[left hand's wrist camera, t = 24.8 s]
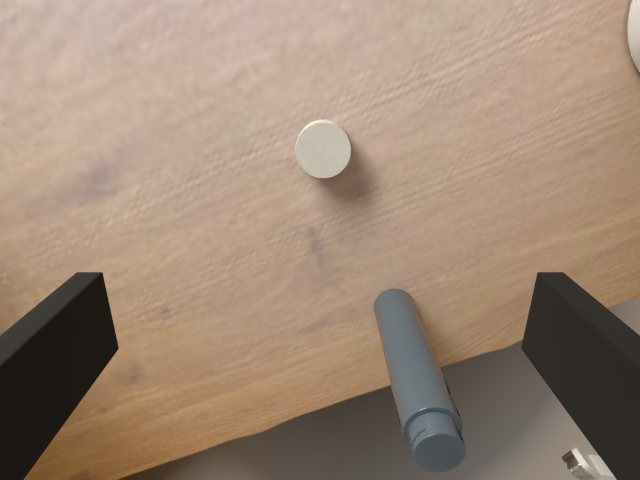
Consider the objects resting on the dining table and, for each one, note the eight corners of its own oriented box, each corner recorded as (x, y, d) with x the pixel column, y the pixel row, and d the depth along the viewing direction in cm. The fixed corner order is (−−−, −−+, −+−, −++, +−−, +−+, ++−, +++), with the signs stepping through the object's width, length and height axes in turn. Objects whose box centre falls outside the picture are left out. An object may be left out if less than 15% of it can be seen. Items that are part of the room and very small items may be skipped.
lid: (331, 182, 42) (332, 188, 40) (286, 155, 41) (285, 160, 39) (359, 137, 41) (361, 141, 39) (314, 109, 40) (313, 111, 38)
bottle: (367, 298, 47) (397, 442, 29) (404, 282, 46) (460, 420, 28) (382, 328, 49) (420, 484, 30) (419, 314, 48) (480, 464, 30)
